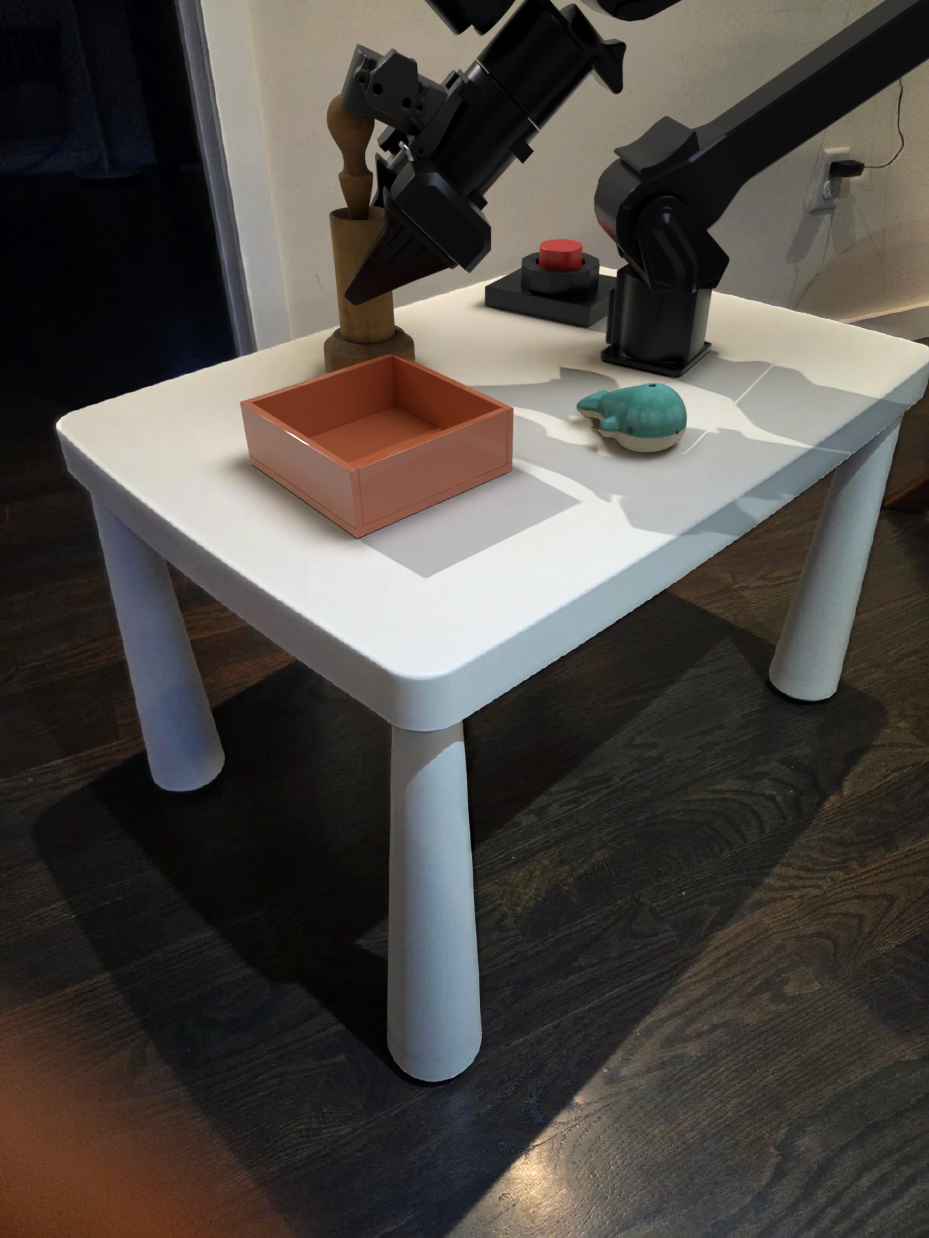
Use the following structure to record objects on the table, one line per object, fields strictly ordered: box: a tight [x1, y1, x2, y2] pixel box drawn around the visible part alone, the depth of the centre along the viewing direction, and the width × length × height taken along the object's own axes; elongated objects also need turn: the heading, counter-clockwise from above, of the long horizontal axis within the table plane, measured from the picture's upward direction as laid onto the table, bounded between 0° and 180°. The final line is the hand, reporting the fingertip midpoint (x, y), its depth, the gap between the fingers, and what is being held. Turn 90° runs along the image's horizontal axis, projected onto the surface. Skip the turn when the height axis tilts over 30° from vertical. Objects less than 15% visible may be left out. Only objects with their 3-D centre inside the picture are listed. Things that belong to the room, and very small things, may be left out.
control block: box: [484, 251, 616, 329], centre depth 78 cm, size 10×8×4 cm
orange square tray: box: [239, 352, 515, 539], centre depth 55 cm, size 12×12×4 cm
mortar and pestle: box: [323, 93, 416, 374], centre depth 62 cm, size 7×6×18 cm
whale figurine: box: [575, 382, 688, 453], centre depth 58 cm, size 6×7×4 cm
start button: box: [538, 238, 584, 269], centre depth 76 cm, size 4×4×2 cm
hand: (347, 284), depth 63 cm, fingers open, 6 cm apart
